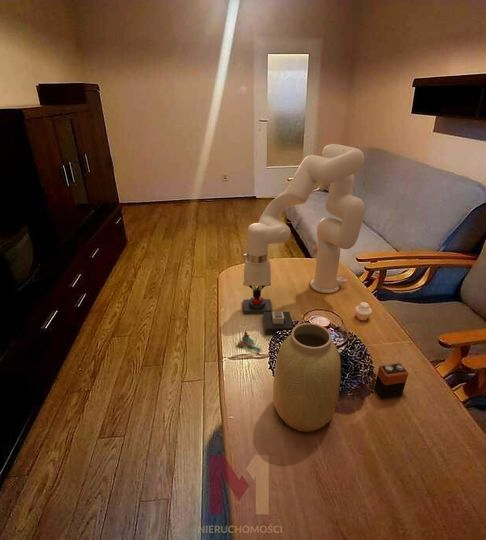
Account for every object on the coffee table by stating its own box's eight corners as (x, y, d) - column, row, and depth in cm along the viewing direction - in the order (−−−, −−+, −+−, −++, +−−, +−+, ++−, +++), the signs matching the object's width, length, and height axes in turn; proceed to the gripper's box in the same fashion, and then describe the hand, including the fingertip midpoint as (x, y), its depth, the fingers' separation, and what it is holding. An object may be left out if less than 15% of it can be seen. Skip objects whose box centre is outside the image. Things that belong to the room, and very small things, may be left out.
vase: (303, 451, 86) (312, 371, 73) (259, 405, 99) (261, 330, 86) (348, 416, 95) (363, 339, 82) (303, 378, 107) (310, 306, 94)
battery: (373, 387, 104) (379, 362, 99) (394, 384, 105) (401, 359, 100) (380, 399, 100) (387, 374, 95) (402, 396, 101) (410, 370, 96)
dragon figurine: (267, 339, 122) (248, 327, 123) (263, 346, 115) (243, 333, 116) (258, 354, 123) (239, 341, 125) (254, 361, 116) (234, 348, 118)
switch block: (269, 302, 144) (270, 295, 142) (271, 313, 137) (271, 306, 135) (243, 302, 144) (243, 295, 142) (243, 314, 137) (243, 306, 135)
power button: (261, 299, 141) (261, 295, 140) (261, 304, 138) (262, 300, 137) (252, 299, 141) (252, 295, 140) (252, 304, 138) (252, 300, 137)
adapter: (289, 317, 135) (289, 311, 133) (292, 334, 126) (293, 327, 124) (263, 318, 135) (263, 312, 133) (265, 335, 126) (265, 328, 124)
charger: (282, 322, 132) (282, 310, 129) (283, 329, 128) (284, 316, 126) (271, 323, 132) (272, 310, 129) (272, 329, 128) (273, 317, 126)
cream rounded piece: (355, 322, 131) (358, 307, 128) (351, 313, 137) (354, 298, 133) (372, 323, 131) (375, 307, 128) (367, 313, 136) (370, 298, 133)
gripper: (237, 261, 126) (238, 303, 135) (278, 260, 126) (276, 302, 135) (237, 252, 133) (237, 293, 141) (276, 251, 133) (274, 292, 141)
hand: (256, 297), depth 138 cm, fingers closed
